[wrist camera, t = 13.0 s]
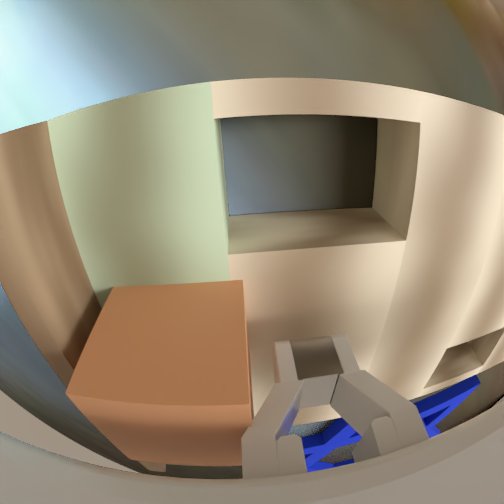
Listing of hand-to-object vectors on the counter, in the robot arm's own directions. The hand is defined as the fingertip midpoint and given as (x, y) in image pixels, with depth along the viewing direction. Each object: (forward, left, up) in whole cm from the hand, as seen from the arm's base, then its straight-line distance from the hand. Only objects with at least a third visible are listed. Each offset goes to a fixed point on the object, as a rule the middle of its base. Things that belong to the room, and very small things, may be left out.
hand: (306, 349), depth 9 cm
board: (-6, 0, -4) cm, 7 cm away
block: (+4, 0, -1) cm, 4 cm away
